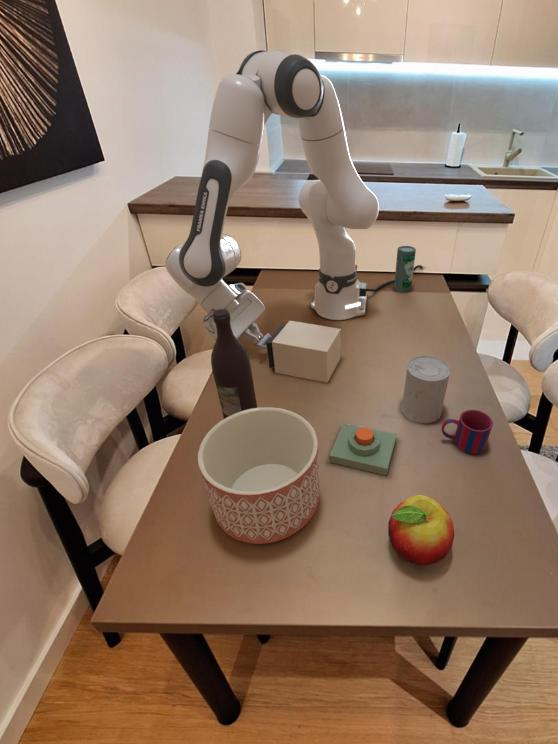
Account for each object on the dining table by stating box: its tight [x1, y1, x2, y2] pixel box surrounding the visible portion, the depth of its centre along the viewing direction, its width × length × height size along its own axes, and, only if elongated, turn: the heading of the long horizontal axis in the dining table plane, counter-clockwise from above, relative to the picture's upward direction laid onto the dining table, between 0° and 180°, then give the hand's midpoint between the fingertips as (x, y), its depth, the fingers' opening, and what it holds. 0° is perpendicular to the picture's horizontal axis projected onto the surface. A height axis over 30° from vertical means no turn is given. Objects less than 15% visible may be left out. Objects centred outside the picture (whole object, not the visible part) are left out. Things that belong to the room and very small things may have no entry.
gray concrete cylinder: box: [401, 355, 452, 424], centre depth 92 cm, size 10×10×12 cm
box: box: [328, 422, 397, 476], centre depth 83 cm, size 10×12×4 cm
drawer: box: [255, 322, 287, 369], centre depth 107 cm, size 18×10×8 cm, turn 75°
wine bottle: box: [210, 309, 258, 420], centre depth 78 cm, size 7×7×30 cm
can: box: [393, 245, 417, 293], centre depth 144 cm, size 6×6×15 cm
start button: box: [356, 426, 373, 446], centre depth 82 cm, size 4×4×2 cm
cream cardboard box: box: [272, 320, 342, 384], centre depth 106 cm, size 15×12×10 cm
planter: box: [197, 406, 321, 545], centre depth 70 cm, size 19×19×15 cm
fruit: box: [387, 494, 455, 567], centre depth 65 cm, size 11×11×10 cm
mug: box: [441, 409, 494, 455], centre depth 85 cm, size 7×10×7 cm
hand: (260, 340), depth 108 cm, fingers closed, pressing on drawer
